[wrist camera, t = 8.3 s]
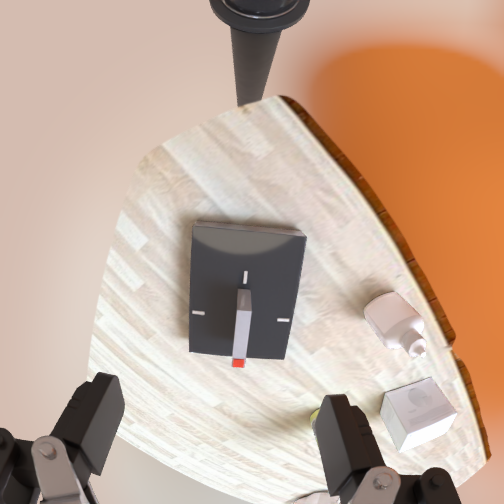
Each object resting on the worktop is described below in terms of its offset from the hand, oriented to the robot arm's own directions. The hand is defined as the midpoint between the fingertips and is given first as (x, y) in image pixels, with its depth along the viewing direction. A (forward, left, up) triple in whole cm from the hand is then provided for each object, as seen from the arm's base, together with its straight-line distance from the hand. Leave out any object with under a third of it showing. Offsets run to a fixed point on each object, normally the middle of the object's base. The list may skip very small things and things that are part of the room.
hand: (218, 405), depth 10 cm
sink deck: (+6, +1, -24) cm, 25 cm away
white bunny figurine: (+67, +25, -25) cm, 76 cm away
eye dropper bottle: (+7, +20, -25) cm, 33 cm away
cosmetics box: (+26, +33, -25) cm, 49 cm away
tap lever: (+8, +1, -21) cm, 23 cm away
